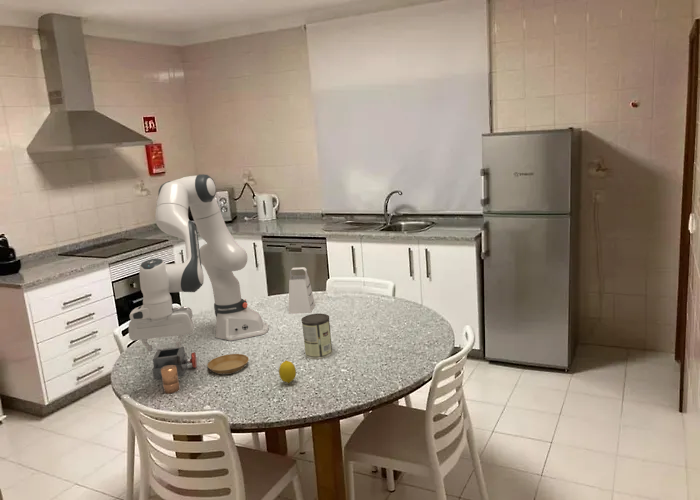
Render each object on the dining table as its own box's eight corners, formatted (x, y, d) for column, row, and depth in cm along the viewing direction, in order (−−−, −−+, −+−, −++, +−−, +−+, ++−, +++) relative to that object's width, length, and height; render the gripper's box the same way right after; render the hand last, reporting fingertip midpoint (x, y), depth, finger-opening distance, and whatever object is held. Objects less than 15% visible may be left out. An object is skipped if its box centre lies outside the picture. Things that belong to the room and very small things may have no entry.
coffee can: (311, 347, 217) (307, 312, 214) (336, 349, 214) (333, 313, 211) (300, 358, 208) (296, 322, 205) (326, 360, 204) (323, 323, 202)
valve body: (161, 364, 214) (158, 346, 212) (199, 359, 215) (196, 341, 214) (152, 382, 198) (149, 363, 197) (193, 376, 200) (190, 358, 198)
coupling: (180, 386, 193) (177, 364, 191) (178, 392, 188) (175, 370, 186) (165, 388, 192) (162, 366, 191) (163, 394, 188) (159, 372, 186)
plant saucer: (214, 361, 213) (213, 354, 212) (253, 358, 212) (252, 352, 211) (203, 378, 198) (202, 371, 198) (244, 375, 198) (243, 368, 197)
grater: (293, 306, 271) (289, 266, 267) (315, 305, 269) (311, 265, 265) (288, 313, 261) (284, 271, 256) (310, 313, 259) (306, 270, 255)
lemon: (280, 380, 191) (278, 358, 189) (297, 378, 191) (294, 356, 189) (280, 387, 185) (277, 365, 184) (297, 385, 186) (294, 363, 184)
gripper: (192, 302, 188) (197, 342, 191) (129, 309, 186) (135, 349, 189) (189, 308, 182) (195, 348, 185) (124, 315, 180) (130, 356, 183)
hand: (164, 349), depth 187 cm, fingers open, 8 cm apart
